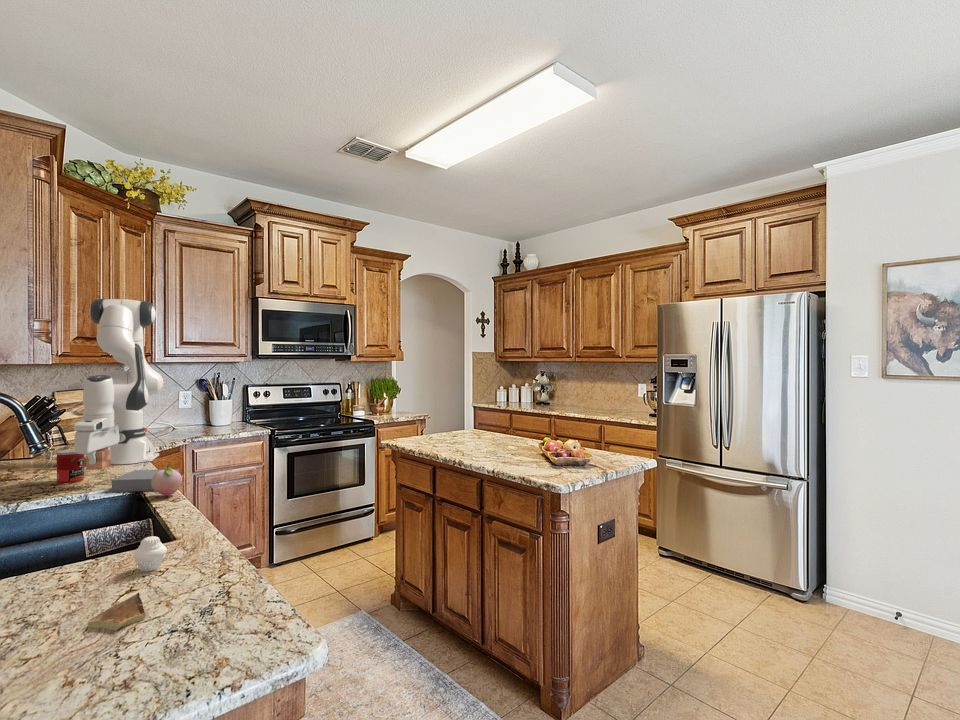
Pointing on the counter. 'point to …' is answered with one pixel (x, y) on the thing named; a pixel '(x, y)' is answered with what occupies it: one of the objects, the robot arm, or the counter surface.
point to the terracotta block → (100, 460)
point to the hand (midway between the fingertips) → (98, 461)
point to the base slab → (135, 481)
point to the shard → (120, 614)
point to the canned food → (70, 466)
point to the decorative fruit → (166, 481)
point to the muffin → (150, 554)
